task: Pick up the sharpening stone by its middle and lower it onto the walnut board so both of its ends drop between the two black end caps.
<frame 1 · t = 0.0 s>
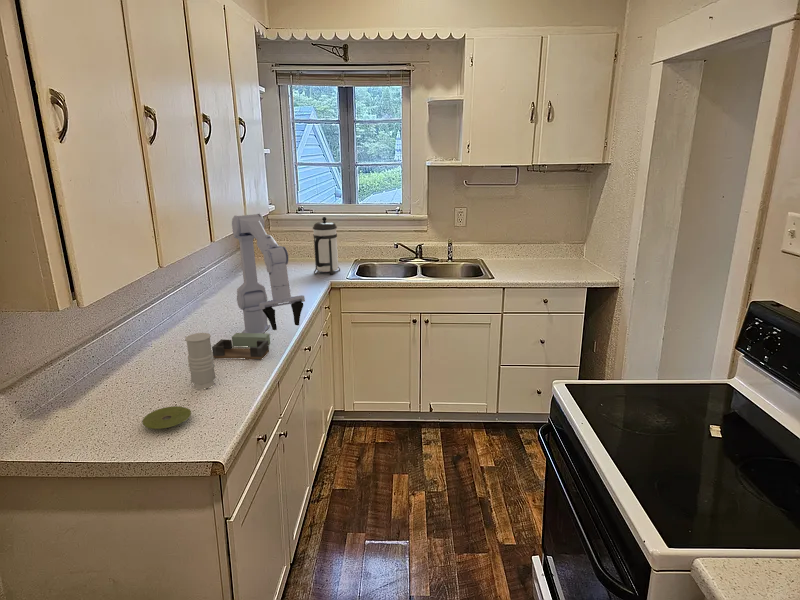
hand: (286, 327, 170), 11 cm above the worktop, tool pointing down, fingers open, 7 cm apart
olive green disc: (168, 424, 133), on the worktop
end cap cradle: (241, 355, 176), on the worktop
coffee press: (327, 273, 287), on the worktop
ribbed grey can: (204, 385, 154), on the worktop
sharpening stone: (251, 345, 185), on the worktop
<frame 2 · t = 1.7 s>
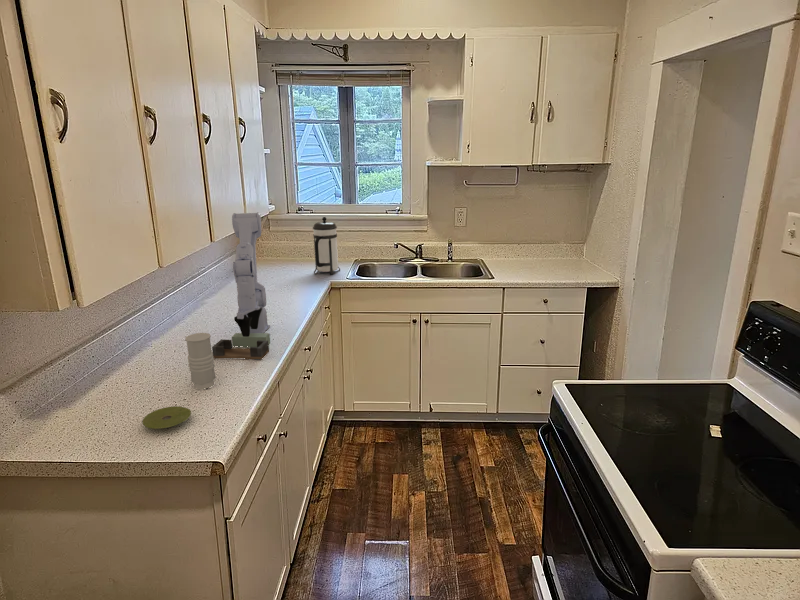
hand: (250, 332, 183), 5 cm above the worktop, tool pointing down, fingers open, 7 cm apart
nothing on the worktop moved.
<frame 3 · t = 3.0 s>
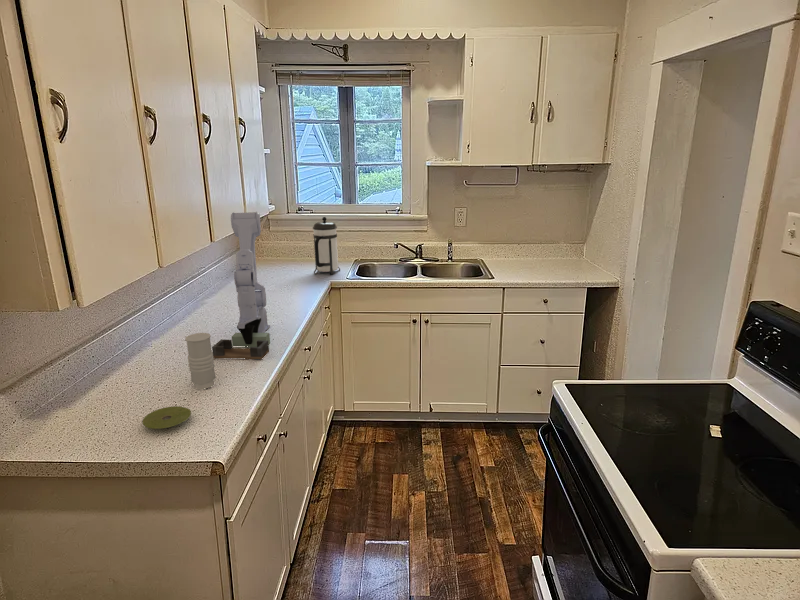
hand: (251, 341, 184), 1 cm above the worktop, tool pointing down, fingers closed on sharpening stone, 4 cm apart
sharpening stone: (251, 345, 185), on the worktop, touching gripper
everything else where it was.
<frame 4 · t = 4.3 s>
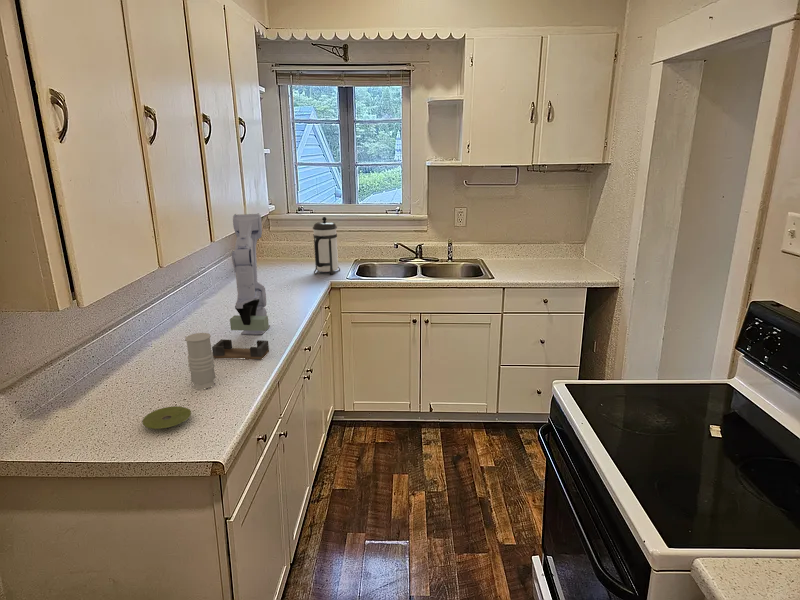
hand: (249, 322, 182), 8 cm above the worktop, tool pointing down, fingers closed on sharpening stone, 4 cm apart
sharpening stone: (250, 328, 183), point 6 cm above the worktop, touching gripper
everything else where it was.
when the fingers open (4 cm above the worktop, at t = 5.8 s): sharpening stone stays where it is, resting on end cap cradle.
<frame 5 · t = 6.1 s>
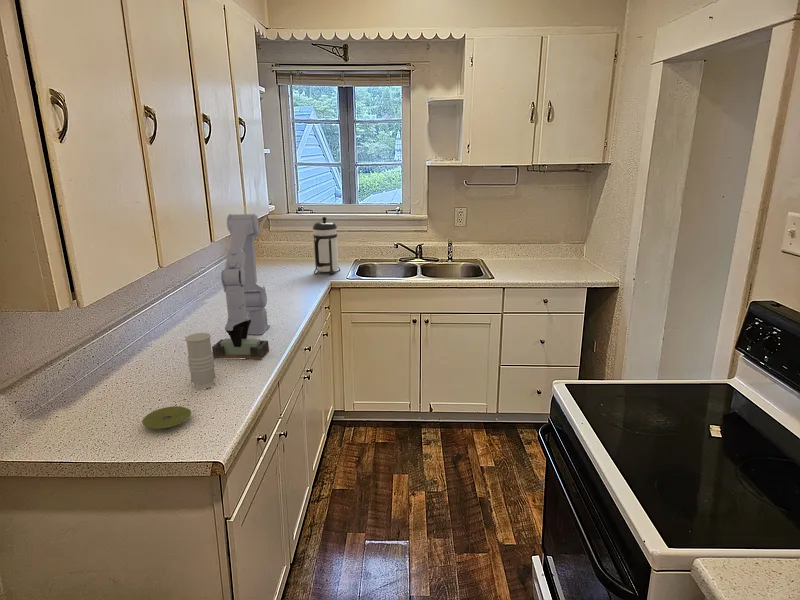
hand: (240, 344, 175), 4 cm above the worktop, tool pointing down, fingers open, 4 cm apart
sharpening stone: (241, 352, 176), point 1 cm above the worktop, touching end cap cradle, gripper
everything else where it was.
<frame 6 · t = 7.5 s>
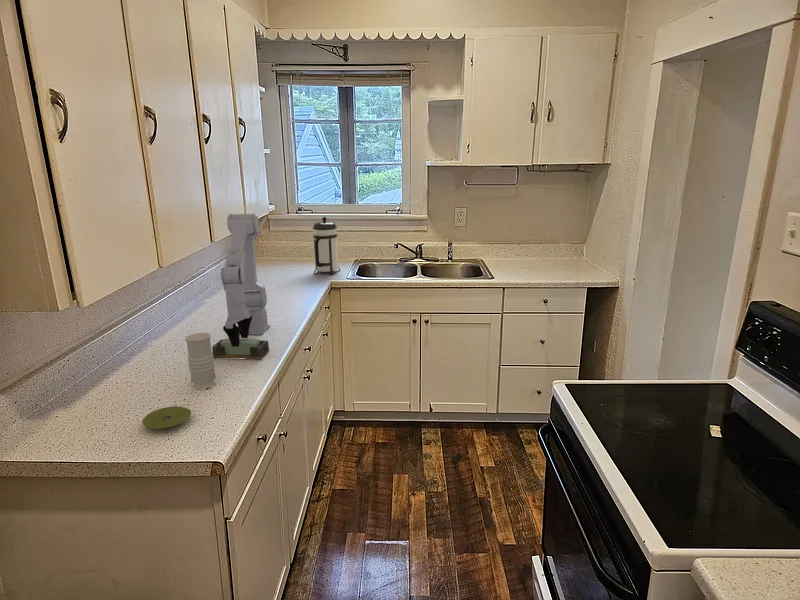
hand: (240, 341, 175), 5 cm above the worktop, tool pointing down, fingers open, 7 cm apart
sharpening stone: (241, 352, 176), point 1 cm above the worktop, touching end cap cradle
everything else where it was.
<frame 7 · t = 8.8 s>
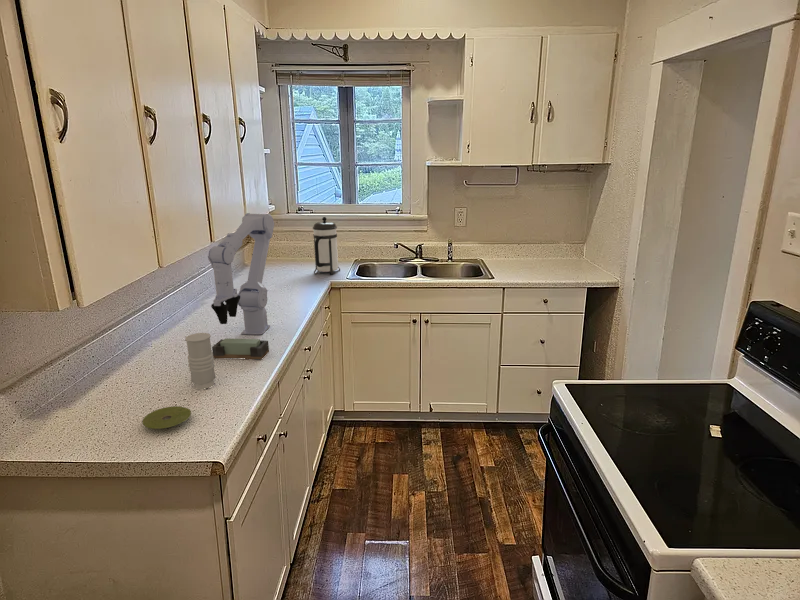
hand: (228, 320, 182), 9 cm above the worktop, tool pointing down, fingers open, 7 cm apart
nothing on the worktop moved.
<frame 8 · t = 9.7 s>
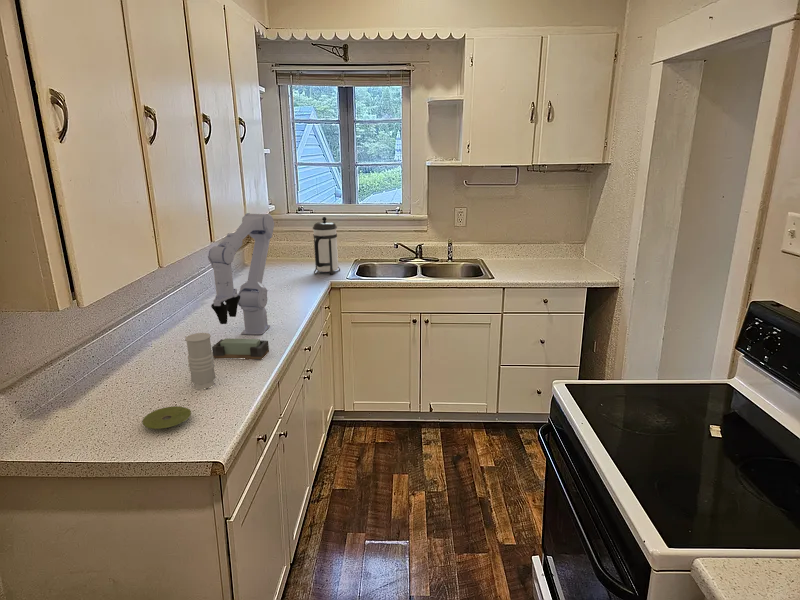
hand: (228, 320, 182), 9 cm above the worktop, tool pointing down, fingers open, 7 cm apart
nothing on the worktop moved.
at the end: sharpening stone 0.0 cm off-centre on the end cap cradle, point 1.0 cm above the end cap cradle's base; sharpening stone tilted 0°; the gripper is holding nothing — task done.
